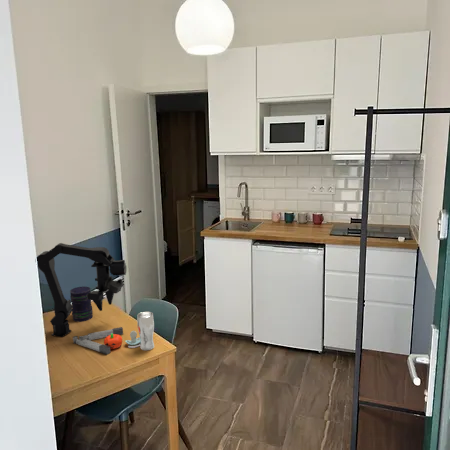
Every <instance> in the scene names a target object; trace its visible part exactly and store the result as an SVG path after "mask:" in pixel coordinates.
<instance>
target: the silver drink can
mask: <svg viewBox="0 0 450 450" xmlns="http://www.w3.org/2000/svg"><path fill="white" fill-rule="evenodd" d="M136 317H137V318H136V319H137V331H138V334H139V335H138V336H139V337H140V340H141V343H140V346H139V349H140V350H142V351H150V350H153V349H154V348H155V343H154V331H155V321H154V313H153V312H151V311H142V312H139V313H138V314H137V316H136Z"/></svg>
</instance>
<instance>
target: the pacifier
mask: <svg viewBox="0 0 450 450" xmlns="http://www.w3.org/2000/svg"><path fill="white" fill-rule="evenodd" d="M137 335H138V333H137V331H136V330H132V331H130V333H129V336H130V339H127V340H125V343H126V344H128V345H127V347H128V348H129V349H134V348H140V343H141V340H140V336H139V337H138V336H137Z"/></svg>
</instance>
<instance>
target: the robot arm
mask: <svg viewBox="0 0 450 450" xmlns="http://www.w3.org/2000/svg"><path fill="white" fill-rule="evenodd" d="M60 254H61V255H68V256H75V257H82V258H86V259H89V260H91V261H93V263H92V264H91V268H95V271H96V277H95V278H94V280H95V282H96V283H97V284H96V285H97V286H95V290H90V291H91V292H90V293H88V294H87V299H89V300H91V301H93V303H94V304H95V306H96V307H97V309H98V310H99V312H102V311H103V301H104V299H105V297H106V300H107V302H108V305H112V303H113V299H114V295H115V294H118V293H119V292H121V291H122V288H123V287H124V281H123V279H122V278H119V279H117V280H113V277H112V276H126V275H127V265H126V264H127V263H126V260H125V259H120V260H115V258H114V257H113V256H112V255H111V254H110V251H109V249H108V248H107V247H105V246H104V247H103V246H97V247H84V246H77V245H72V244H66V243H62V242H60V243H57V244H56V245H55V246H54V247H52V248H51V249H50V250H45V251H43V252H42V253H40V254H38V255H37V256H36V258H37V261H38V266H37V267H38V269H39V271H41V272H42V273H43V274H44V277H45V279H46V280H45V281H46V283H47V286H48V288H49V291H50V294H51V297H52V300H53V305H54V306H53V307H54V309H53V311H54V316H53V317H52V319H51V320H50V324H51V326H52V331H53V332H52V333H51V334H50V335H51V336H53V337H60V338H63V337H65V336H67V335H68V334H70V333H71V332H72V330H71V329H70V324H69V320H67V319H68V317H69V316H70V315H71V314H72V308H73V306H72V302H71V299H66V297H65V296H64V293H63V290H62V287H61V285H60V281H59V279H58V276H57V273H56V270H55V258H56V257H57V256H59V255H60ZM104 293H105V296H104Z"/></svg>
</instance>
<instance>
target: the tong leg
mask: <svg viewBox="0 0 450 450" xmlns="http://www.w3.org/2000/svg"><path fill="white" fill-rule="evenodd" d="M111 334H117V335H120V336H122V335H124V328H123V326H120V327H119V326H118V327H114V328H111V329H106V330H101V331H95V332H90V333H89V332H88V333H87V334H86V335H81V336H78V339H79V340H84V339H87V340H90V341H95V340H98V339H105V338H106V337H107V336H109V335H111Z"/></svg>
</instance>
